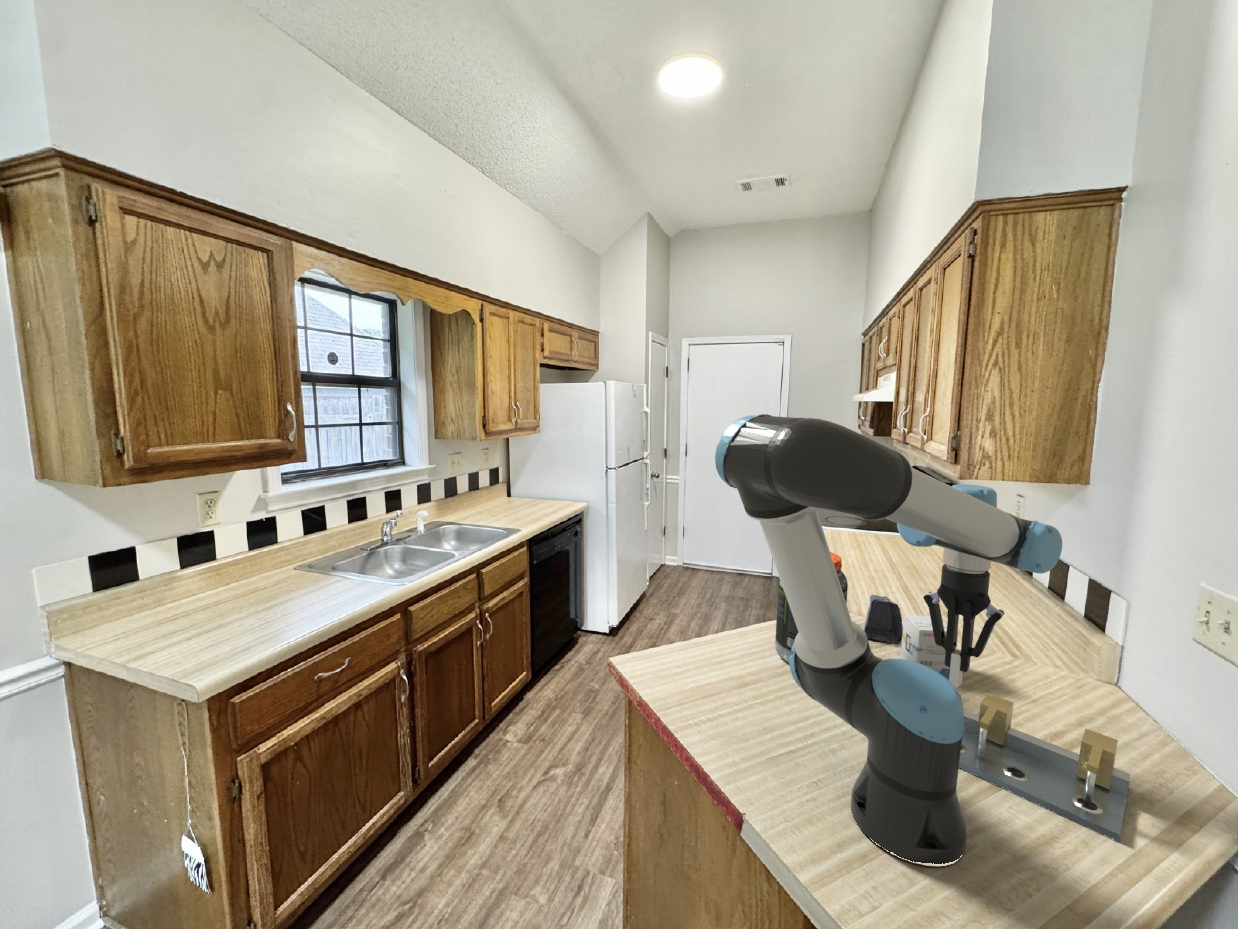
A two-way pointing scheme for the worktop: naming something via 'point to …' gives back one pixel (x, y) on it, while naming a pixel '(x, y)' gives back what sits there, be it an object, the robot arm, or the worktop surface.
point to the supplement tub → (785, 620)
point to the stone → (883, 620)
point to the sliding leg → (993, 721)
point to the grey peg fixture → (1054, 774)
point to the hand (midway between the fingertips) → (955, 684)
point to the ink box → (923, 644)
